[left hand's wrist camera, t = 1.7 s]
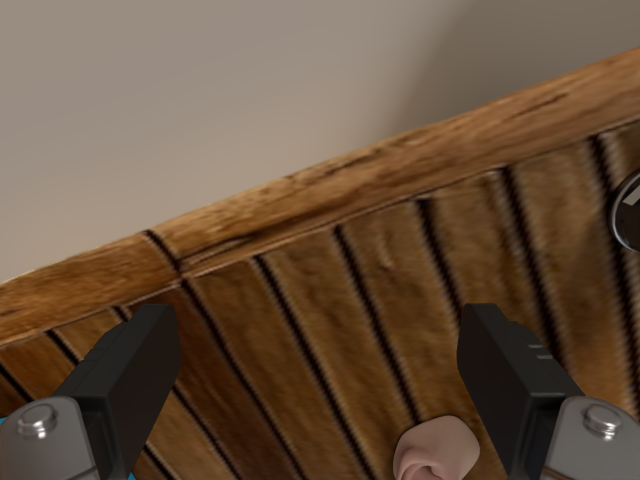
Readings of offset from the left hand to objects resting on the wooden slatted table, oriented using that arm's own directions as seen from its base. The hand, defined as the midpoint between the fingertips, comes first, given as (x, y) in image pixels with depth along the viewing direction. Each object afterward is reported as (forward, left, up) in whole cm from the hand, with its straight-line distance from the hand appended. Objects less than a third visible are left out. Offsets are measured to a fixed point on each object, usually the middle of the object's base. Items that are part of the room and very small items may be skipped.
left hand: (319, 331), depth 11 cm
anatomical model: (-2, +41, -29) cm, 51 cm away
